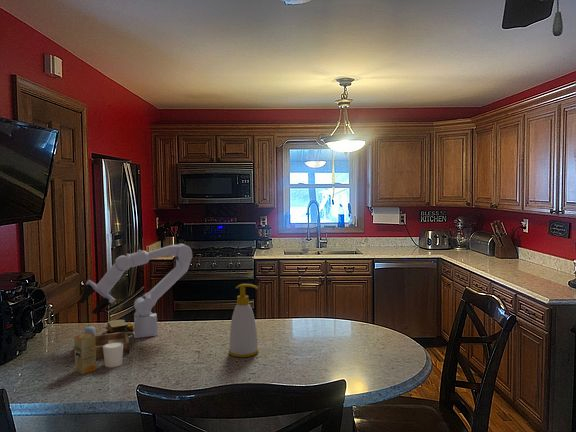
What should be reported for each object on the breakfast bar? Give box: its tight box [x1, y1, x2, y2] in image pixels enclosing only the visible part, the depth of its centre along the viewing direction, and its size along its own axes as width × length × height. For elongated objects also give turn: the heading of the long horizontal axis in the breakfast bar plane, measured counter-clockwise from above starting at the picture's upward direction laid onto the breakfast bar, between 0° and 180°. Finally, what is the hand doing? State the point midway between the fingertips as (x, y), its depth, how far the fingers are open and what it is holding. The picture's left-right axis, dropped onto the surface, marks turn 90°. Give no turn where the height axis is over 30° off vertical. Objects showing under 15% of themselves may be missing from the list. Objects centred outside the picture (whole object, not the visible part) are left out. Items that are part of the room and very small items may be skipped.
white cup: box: [103, 342, 124, 368], centre depth 162 cm, size 7×7×7 cm
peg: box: [84, 326, 96, 335], centre depth 187 cm, size 4×4×6 cm
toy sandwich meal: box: [104, 319, 135, 337], centre depth 199 cm, size 12×14×5 cm
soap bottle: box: [228, 283, 259, 358], centre depth 172 cm, size 11×12×26 cm
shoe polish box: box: [73, 333, 97, 375], centre depth 157 cm, size 5×5×12 cm
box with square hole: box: [95, 332, 131, 359], centre depth 177 cm, size 18×16×4 cm
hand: (87, 308), depth 186 cm, fingers open, 7 cm apart
